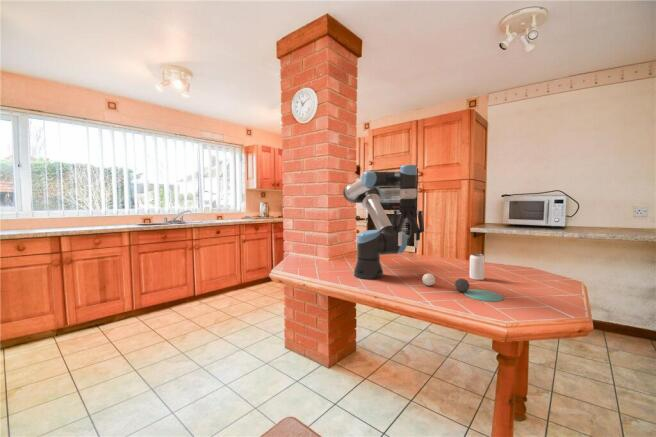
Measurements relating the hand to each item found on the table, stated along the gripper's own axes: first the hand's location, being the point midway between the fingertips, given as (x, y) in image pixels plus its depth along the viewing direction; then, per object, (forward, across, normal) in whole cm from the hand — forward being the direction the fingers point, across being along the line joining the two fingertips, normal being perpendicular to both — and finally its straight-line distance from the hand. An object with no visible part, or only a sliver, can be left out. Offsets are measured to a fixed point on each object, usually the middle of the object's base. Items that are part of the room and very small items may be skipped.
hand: (407, 246), depth 130 cm
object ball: (+14, +24, 0) cm, 28 cm away
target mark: (+17, +32, 0) cm, 36 cm away
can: (+17, +25, +25) cm, 39 cm away
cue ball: (+14, +10, 0) cm, 17 cm away
